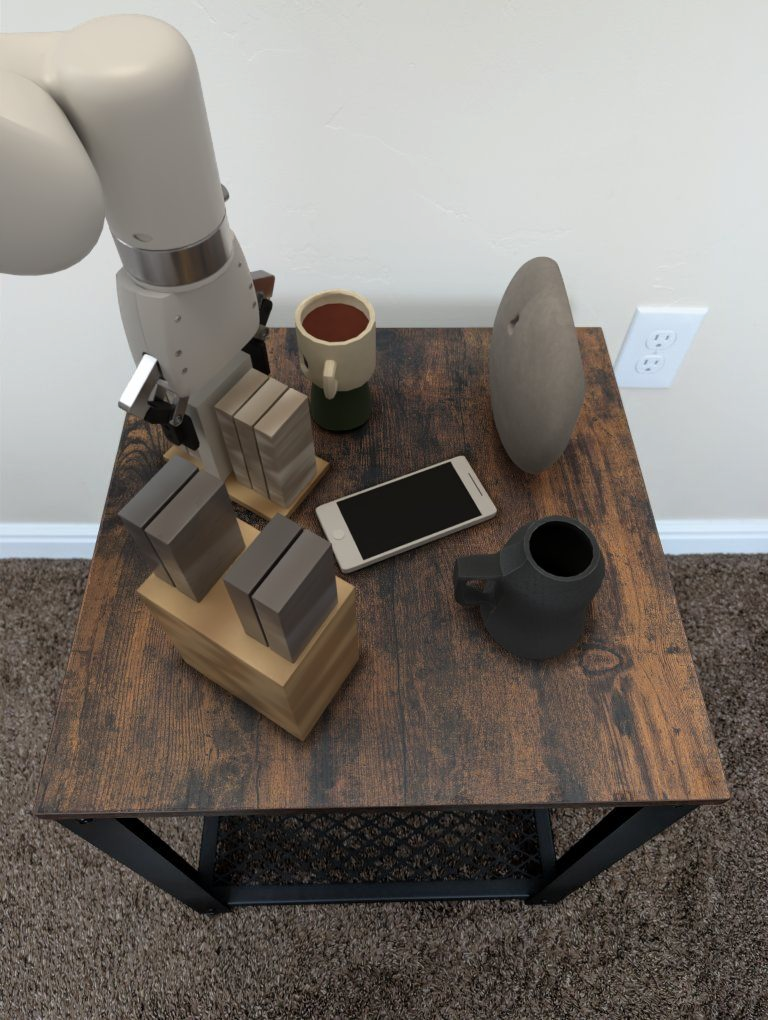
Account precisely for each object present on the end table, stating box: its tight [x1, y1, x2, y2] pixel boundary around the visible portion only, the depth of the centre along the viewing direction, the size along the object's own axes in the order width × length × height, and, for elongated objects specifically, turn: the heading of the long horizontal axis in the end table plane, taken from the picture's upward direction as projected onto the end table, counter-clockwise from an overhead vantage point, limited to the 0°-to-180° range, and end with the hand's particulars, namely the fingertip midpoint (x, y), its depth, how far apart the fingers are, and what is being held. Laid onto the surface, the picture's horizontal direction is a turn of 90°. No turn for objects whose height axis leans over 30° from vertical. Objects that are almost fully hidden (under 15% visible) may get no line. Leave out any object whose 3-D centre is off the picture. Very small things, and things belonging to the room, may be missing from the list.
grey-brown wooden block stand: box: [162, 368, 330, 523], centre depth 63 cm, size 14×8×12 cm, turn 58°
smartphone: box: [315, 455, 498, 574], centre depth 65 cm, size 7×15×1 cm, turn 114°
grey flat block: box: [185, 350, 253, 482], centre depth 63 cm, size 2×7×11 cm, turn 148°
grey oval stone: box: [488, 256, 587, 475], centre depth 63 cm, size 18×7×19 cm, turn 3°
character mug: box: [294, 288, 377, 432], centre depth 67 cm, size 11×7×13 cm, turn 174°
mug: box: [452, 514, 606, 661], centre depth 56 cm, size 12×9×11 cm
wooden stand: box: [117, 454, 360, 742], centre depth 49 cm, size 12×8×22 cm, turn 58°
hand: (220, 404), depth 62 cm, fingers open, 9 cm apart
